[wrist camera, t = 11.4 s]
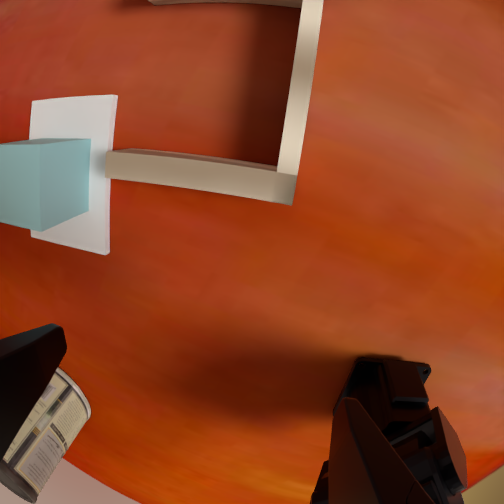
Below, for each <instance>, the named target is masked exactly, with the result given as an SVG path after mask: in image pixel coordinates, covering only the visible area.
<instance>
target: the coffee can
mask: <svg viewBox="0 0 504 504" xmlns="http://www.w3.org/2000/svg"><path fill="white" fill-rule="evenodd" d="M90 415H91V409H90V405H89V403H88V400H87V398H86V397H85V395H84V394H83V392H82V391H81V389H80V388H79V387H78V386H77V385H76V383H75V382H74V381H73V380H72V379H71V378H70V377H69V376H68V375H67V374H66V373H65V372H64V371H62V370H61V369H60V368H59V367H58V368H57V370H56V371H55V373H54V375H53V377H52V379H51V381H50V383H49V384H48V386H47V388H46V389H45V391H44V392H43V394H42V395H41V397H40V399H39V400H38V402H37V403H36V405H35V406H34V408H33V409H32V411H31V412H30V414H29V416H28V417H27V419H26V420H25V422H24V424H23V425H22V427H21V429H20V430H19V432H18V433H17V435H16V437H15V438H14V440H13V442H12V444H11V445H10V447H9V449H8V450H7V452H6V454H5V456H4V457H3V459H2V461H1V463H0V482H1V483H2V484H3V485H4V486H5V487H7V488H8V489H9V490H11V491H12V492H14V493H15V494H16V495H18V496H19V497H21V498H23V499H24V500H26V501H28V502H31V503H33V504H34V503H35V502H36V501H37V497H38V495H39V493H40V492H41V490H42V489H43V487H44V485H45V484H46V482H47V481H48V479H49V477H50V475H51V474H52V473H53V471H54V469H55V468H56V466H57V465H58V463H59V462H60V460H61V459H62V457H63V456H64V454H65V452H66V451H67V449H68V448H69V446H70V445H71V443H72V442H73V440H74V439H75V437H76V436H77V434H78V433H79V431H80V430H81V428H82V427H83V425H84V424H85V422H86V421H87V420H88V419H89V418H90Z"/></svg>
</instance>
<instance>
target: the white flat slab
mask: <svg viewBox="0 0 504 504" xmlns="http://www.w3.org/2000/svg"><path fill="white" fill-rule="evenodd" d="M117 100H118V95H95V96H78V97H66V98H55V99H46V100H38V101H32V109H31V120H30V134H29V140H32V139H40V138H80V139H91V149H90V167H89V211H87V212H85V213H83V214H80V215H78V216H76V217H73V218H71V219H69V220H67V221H64V222H62V223H60V224H58V225H56V226H54V227H51V228H49V229H47V230H45V231H43V232H39V231H35V230H31V237H34V238H37V239H41V240H45V241H49V242H53V243H57V244H61V245H65V246H69V247H73V248H77V249H81V250H86V251H90V252H94V253H98V254H102V255H107V254H108V253H110V180H111V178H105V162H106V152H107V151H112V148H113V136H114V125H115V116H116V107H117Z"/></svg>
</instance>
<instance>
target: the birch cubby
mask: <svg viewBox="0 0 504 504" xmlns="http://www.w3.org/2000/svg"><path fill="white" fill-rule="evenodd" d="M148 1H149V2H151V3H152V4H153V5H163V4H177V3H201V2H228V3H252V4H266V5H277V6H286V7H294V8H302V10H301V17H300V23H299V30H298V37H297V44H296V51H295V57H294V64H293V71H292V77H291V84H290V90H289V97H288V103H287V110H286V116H285V122H284V129H283V135H282V142H281V148H280V154H279V160H278V166H273V165H267V164H261V163H255V162H248V161H242V160H235V159H228V158H220V157H212V156H204V155H196V154H187V153H178V152H168V151H158V150H147V149H134V148H130V149H122V150H114V151H107V152H106V162H105V178H112V179H121V180H130V181H138V182H146V183H154V184H161V185H169V186H176V187H183V188H190V189H197V190H203V191H210V192H216V193H223V194H229V195H235V196H241V197H247V198H253V199H259V200H265V201H270V202H276V203H282V204H287V205H292V202H293V197H294V191H295V185H296V180H297V174H298V168H299V162H300V156H301V150H302V144H303V138H304V132H305V126H306V119H307V113H308V107H309V100H310V94H311V87H312V80H313V74H314V67H315V60H316V53H317V46H318V38H319V31H320V23H321V16H322V8H323V0H148Z"/></svg>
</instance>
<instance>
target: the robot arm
mask: <svg viewBox="0 0 504 504" xmlns="http://www.w3.org/2000/svg"><path fill="white" fill-rule="evenodd" d="M66 350H67V344H66V340H65V335H64V330H63V328H62V327H61V326H58V325H56V324H53V323H51V324H48V325H45V326H42V327H38V328H35V329H32V330H29V331H26V332H23V333H20V334H16V335H13V336H10V337H7V338H4V339H0V463H1V461H2V459H3V457H4V456H5V454H6V452H7V450H8V449H9V447H10V445H11V444H12V442H13V440H14V438H15V437H16V435H17V433H18V432H19V430H20V429H21V427H22V425H23V424H24V422H25V420H26V419H27V417H28V416H29V414H30V412H31V411H32V409H33V408H34V406H35V405H36V403H37V402H38V400H39V399H40V397H41V395H42V394H43V392H44V391H45V389H46V388H47V386H48V384H49V383H50V381H51V379H52V377H53V375H54V373H55V371H56V370H57V368H58V366H59V364H60V362H61V360H62V359H63V357H64V355H65V353H66ZM361 363H364V364H363V365H359V364H361ZM424 370H425V371H424ZM430 373H431V368H430V366H429V364H421V363H414V362H404V361H394V360H382V359H374V358H366V357H360V358H358V359H356V361H355V362H354V365H353V367H352V369H351V372H350V374H349V376H348V379H347V381H346V383H345V386H344V388H343V390H342V392H341V394H340V397H339V399H338V401H337V403H336V405H335V407H334V409H333V416H334V417H333V422H332V433H331V444H330V454H329V460H327V461H325V462H324V463H323V466H322V469H321V472H320V475H319V478H318V481H317V484H316V487H315V490H314V492H313V493H312V495H311V501H310V504H464V501H463V498H462V495H461V491H462V490H464V489H466V488H467V468H466V456H465V454H464V451H463V448H462V446H461V443H460V441H459V438H458V436H457V434H456V432H455V430H454V429H453V428H452V426H451V425H450V423H449V422H448V420H447V419H446V417H445V416H444V414H443V413H442V411H441V410H440V409H439V407H438V406H437V407H435V408H434V409H432V410H430V408H429V405H428V401H429V398H428V395H427V393H426V390H425V387H424V383H425V382H426V380H427V378H428V376H429V375H430Z"/></svg>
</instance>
